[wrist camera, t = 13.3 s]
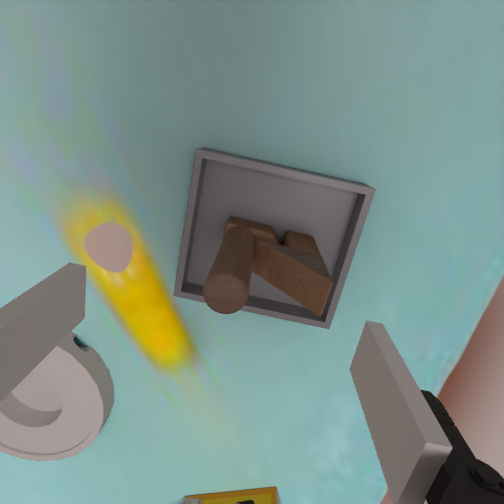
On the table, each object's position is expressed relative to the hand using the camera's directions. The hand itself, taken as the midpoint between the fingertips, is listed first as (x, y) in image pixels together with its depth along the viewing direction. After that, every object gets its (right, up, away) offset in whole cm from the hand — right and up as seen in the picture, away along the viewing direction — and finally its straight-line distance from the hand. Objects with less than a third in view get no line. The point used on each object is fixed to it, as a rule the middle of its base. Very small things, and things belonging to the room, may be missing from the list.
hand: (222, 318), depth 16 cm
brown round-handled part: (+4, +5, +28) cm, 28 cm away
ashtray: (-31, -17, +38) cm, 52 cm away
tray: (+3, +5, +28) cm, 29 cm away
